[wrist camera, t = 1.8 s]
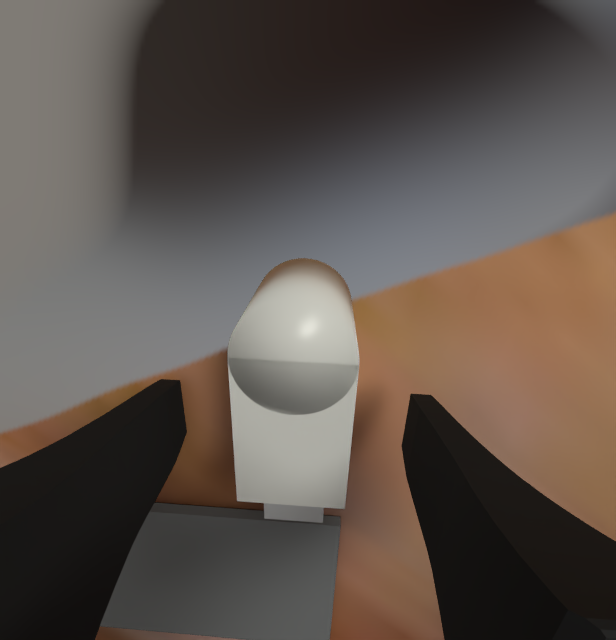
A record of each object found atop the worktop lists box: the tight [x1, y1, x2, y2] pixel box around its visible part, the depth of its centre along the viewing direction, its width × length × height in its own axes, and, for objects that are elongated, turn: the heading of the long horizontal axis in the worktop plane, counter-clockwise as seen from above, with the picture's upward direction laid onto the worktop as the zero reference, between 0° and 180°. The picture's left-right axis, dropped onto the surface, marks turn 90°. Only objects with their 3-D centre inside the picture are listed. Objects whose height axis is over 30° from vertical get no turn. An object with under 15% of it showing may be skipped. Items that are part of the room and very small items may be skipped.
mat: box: [100, 503, 341, 640], centre depth 19 cm, size 14×10×1 cm
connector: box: [228, 258, 359, 523], centre depth 12 cm, size 9×3×4 cm, turn 178°
